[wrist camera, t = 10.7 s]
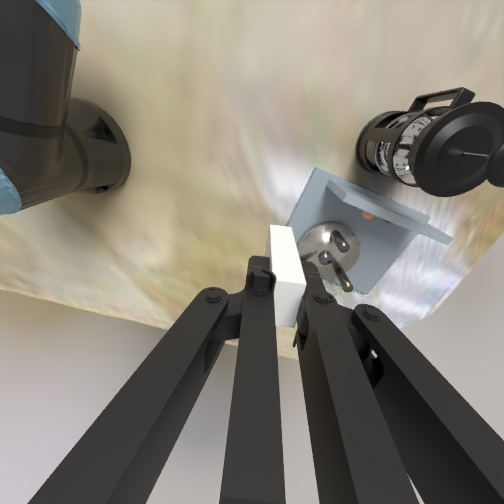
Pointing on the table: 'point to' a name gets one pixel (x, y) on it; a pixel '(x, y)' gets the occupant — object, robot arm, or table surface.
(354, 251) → the capstan
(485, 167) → the french press
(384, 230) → the stand
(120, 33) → the table surface
